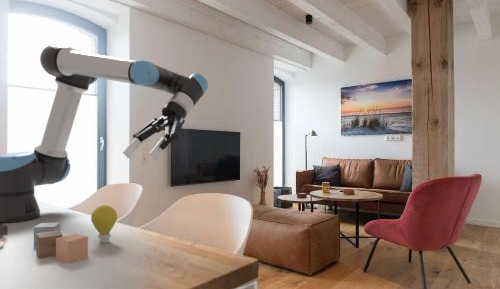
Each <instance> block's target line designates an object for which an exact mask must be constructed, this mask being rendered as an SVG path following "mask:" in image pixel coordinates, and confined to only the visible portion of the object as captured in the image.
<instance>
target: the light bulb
mask: <svg viewBox="0 0 500 289" xmlns="http://www.w3.org/2000/svg"><path fill="white" fill-rule="evenodd" d="M117 213H118V212H117V211H116V209H115V208H114V207H113V206H111V205H106V204H105V205H100V206H98V207H96V208H95V209H94V210H93V212H92V214H91V217H90V218H91V223H92V225H93V226H94V228H95V229H96V231H97V232H98V233H99V234H97V238H98V239H99V243H100V244H101V243H103V244H106V243H109V242H110V239H111V238H112V236H111V235H112V234H111V233H110V232H111V231H112V229H113V227H114V226H115V224H116V222H117V220H118V214H117Z"/></svg>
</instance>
